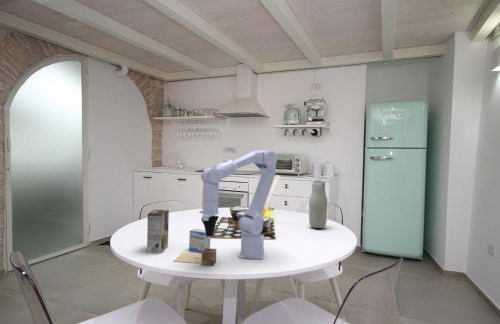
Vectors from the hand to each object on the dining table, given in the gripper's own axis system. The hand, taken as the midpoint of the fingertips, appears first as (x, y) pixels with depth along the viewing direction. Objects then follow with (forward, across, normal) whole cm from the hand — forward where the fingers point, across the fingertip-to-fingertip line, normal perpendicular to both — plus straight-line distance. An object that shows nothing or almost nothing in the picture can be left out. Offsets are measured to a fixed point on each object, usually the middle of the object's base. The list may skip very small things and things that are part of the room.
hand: (209, 235), depth 114 cm
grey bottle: (+11, -67, +47) cm, 82 cm away
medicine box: (+11, -14, -8) cm, 19 cm away
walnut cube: (+10, 0, 0) cm, 10 cm away
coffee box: (+11, -11, -25) cm, 29 cm away
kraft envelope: (+10, -4, -8) cm, 14 cm away
